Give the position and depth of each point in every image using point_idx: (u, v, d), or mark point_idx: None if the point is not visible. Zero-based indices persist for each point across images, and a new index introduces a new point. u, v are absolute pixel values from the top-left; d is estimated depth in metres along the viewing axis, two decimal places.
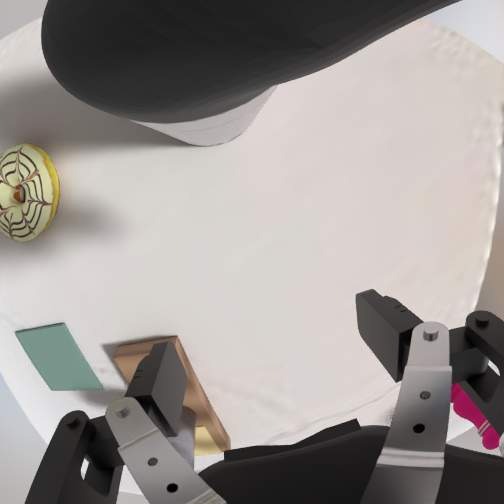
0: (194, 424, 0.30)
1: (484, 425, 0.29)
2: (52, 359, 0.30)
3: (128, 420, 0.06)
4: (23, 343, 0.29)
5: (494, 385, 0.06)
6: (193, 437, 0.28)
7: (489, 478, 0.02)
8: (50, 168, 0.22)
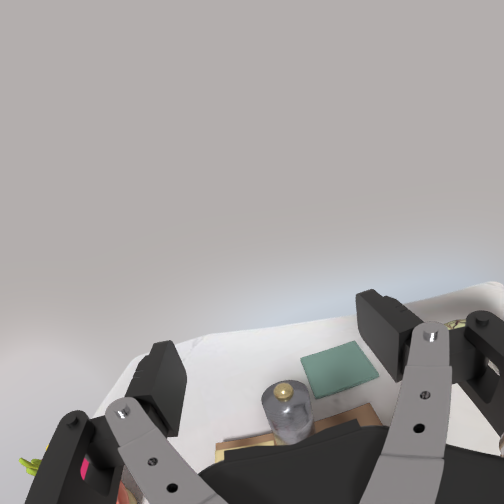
0: None
1: None
2: (339, 364, 0.45)
3: (128, 420, 0.06)
4: (347, 345, 0.50)
5: (494, 385, 0.06)
6: None
7: (489, 478, 0.02)
8: None
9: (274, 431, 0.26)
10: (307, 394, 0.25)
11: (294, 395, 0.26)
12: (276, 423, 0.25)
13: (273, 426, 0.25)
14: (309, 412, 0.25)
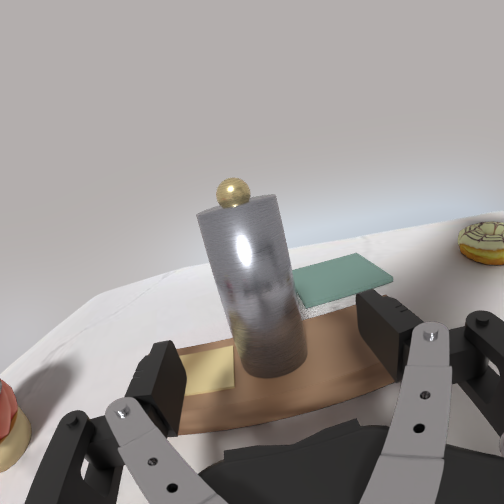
0: (273, 353, 0.17)
1: None
2: (338, 272, 0.36)
3: (128, 420, 0.06)
4: (347, 257, 0.40)
5: (494, 385, 0.06)
6: (266, 324, 0.16)
7: (489, 478, 0.02)
8: None
9: (219, 282, 0.17)
10: (273, 196, 0.16)
11: (251, 200, 0.16)
12: (217, 249, 0.15)
13: (215, 264, 0.16)
14: (280, 236, 0.16)
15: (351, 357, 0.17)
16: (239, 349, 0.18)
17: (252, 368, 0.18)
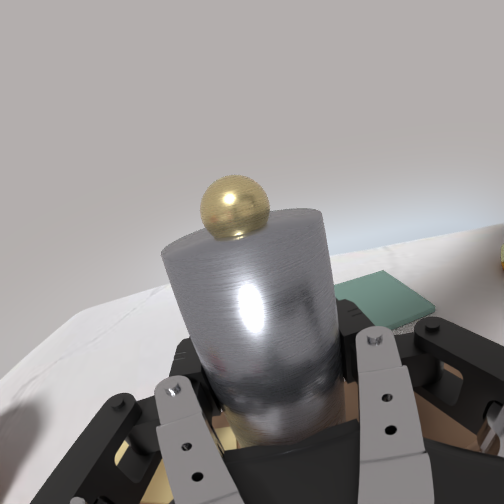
0: None
1: None
2: (366, 298, 0.27)
3: (175, 399, 0.07)
4: (373, 276, 0.32)
5: (455, 386, 0.06)
6: (296, 441, 0.08)
7: (485, 479, 0.02)
8: None
9: (210, 377, 0.08)
10: (318, 215, 0.08)
11: (272, 223, 0.08)
12: (202, 329, 0.07)
13: (200, 351, 0.08)
14: (330, 296, 0.08)
15: None
16: None
17: None
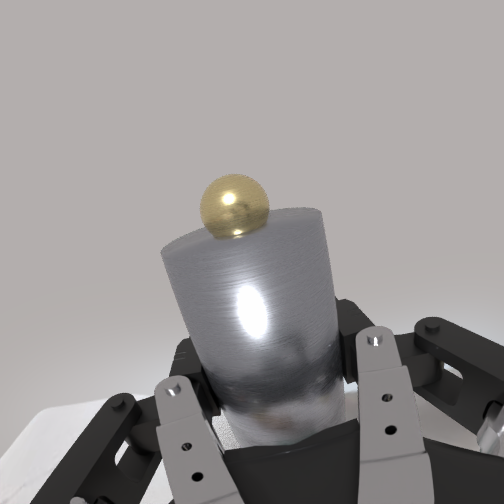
0: None
1: None
2: None
3: (175, 399, 0.07)
4: None
5: (455, 386, 0.06)
6: (295, 440, 0.08)
7: (484, 479, 0.02)
8: None
9: (209, 376, 0.08)
10: (318, 214, 0.08)
11: (272, 222, 0.08)
12: (202, 328, 0.07)
13: (200, 350, 0.08)
14: (330, 295, 0.08)
15: None
16: None
17: None
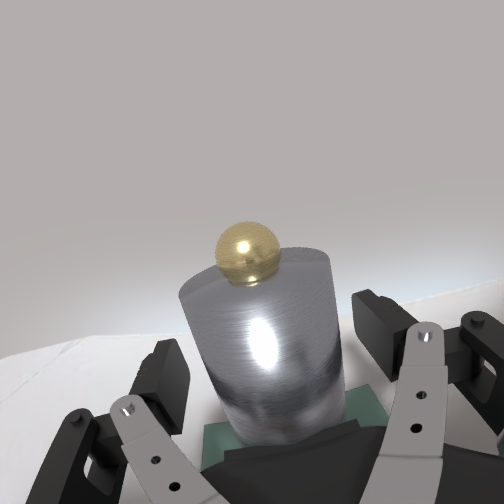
0: None
1: None
2: None
3: (132, 418, 0.06)
4: None
5: (490, 385, 0.06)
6: None
7: (489, 478, 0.02)
8: None
9: (224, 405, 0.09)
10: (326, 261, 0.08)
11: (283, 267, 0.09)
12: (219, 367, 0.08)
13: (217, 383, 0.08)
14: (335, 335, 0.08)
15: None
16: None
17: None
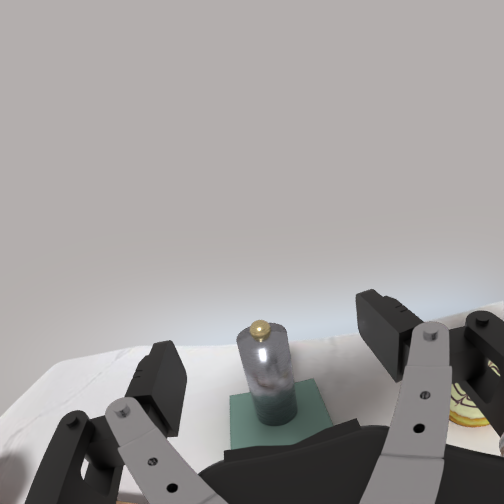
0: (278, 414, 0.26)
1: None
2: None
3: (128, 420, 0.06)
4: (300, 385, 0.33)
5: (494, 385, 0.06)
6: (276, 401, 0.26)
7: (489, 478, 0.02)
8: None
9: (249, 379, 0.26)
10: (285, 334, 0.26)
11: (271, 335, 0.26)
12: (250, 366, 0.25)
13: (248, 371, 0.26)
14: (287, 357, 0.26)
15: None
16: (257, 410, 0.27)
17: (264, 420, 0.27)
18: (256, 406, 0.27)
